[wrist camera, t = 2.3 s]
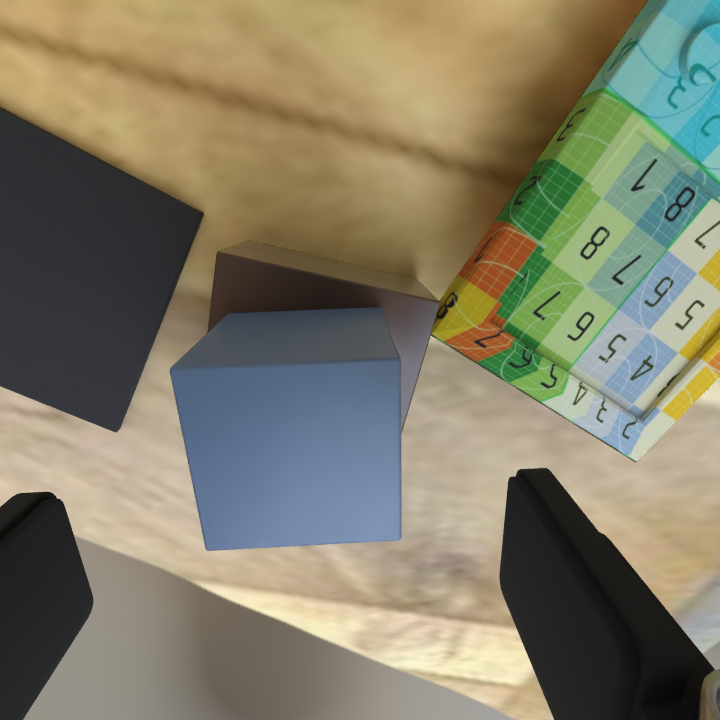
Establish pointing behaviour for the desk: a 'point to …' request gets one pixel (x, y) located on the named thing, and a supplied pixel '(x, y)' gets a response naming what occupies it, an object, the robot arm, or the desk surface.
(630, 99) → the puzzle game
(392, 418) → the slate cube
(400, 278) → the brown square block
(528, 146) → the desk surface
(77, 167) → the felt pad
